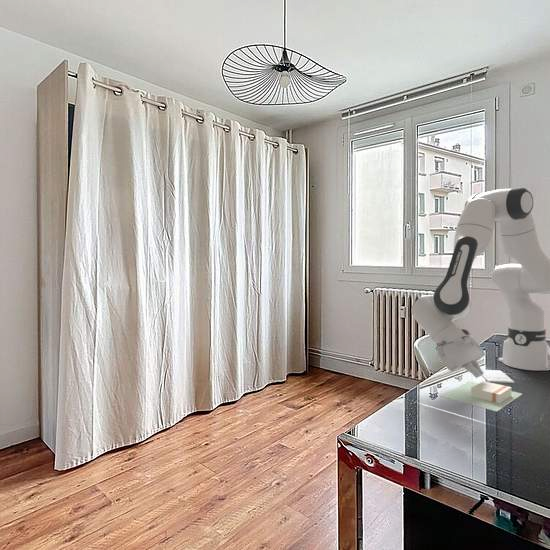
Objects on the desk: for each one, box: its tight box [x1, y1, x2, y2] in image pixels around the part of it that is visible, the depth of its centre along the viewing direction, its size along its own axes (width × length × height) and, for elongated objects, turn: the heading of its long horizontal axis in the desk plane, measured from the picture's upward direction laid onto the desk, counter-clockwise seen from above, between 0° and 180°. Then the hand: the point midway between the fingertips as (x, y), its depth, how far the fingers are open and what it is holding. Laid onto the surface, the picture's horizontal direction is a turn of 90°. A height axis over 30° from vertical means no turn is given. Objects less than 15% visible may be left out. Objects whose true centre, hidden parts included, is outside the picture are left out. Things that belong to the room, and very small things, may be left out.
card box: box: [471, 380, 513, 403], centre depth 118 cm, size 9×3×8 cm
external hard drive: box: [480, 369, 516, 384], centre depth 136 cm, size 2×8×12 cm
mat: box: [440, 380, 523, 412], centre depth 120 cm, size 20×16×1 cm
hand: (480, 375), depth 121 cm, fingers closed
